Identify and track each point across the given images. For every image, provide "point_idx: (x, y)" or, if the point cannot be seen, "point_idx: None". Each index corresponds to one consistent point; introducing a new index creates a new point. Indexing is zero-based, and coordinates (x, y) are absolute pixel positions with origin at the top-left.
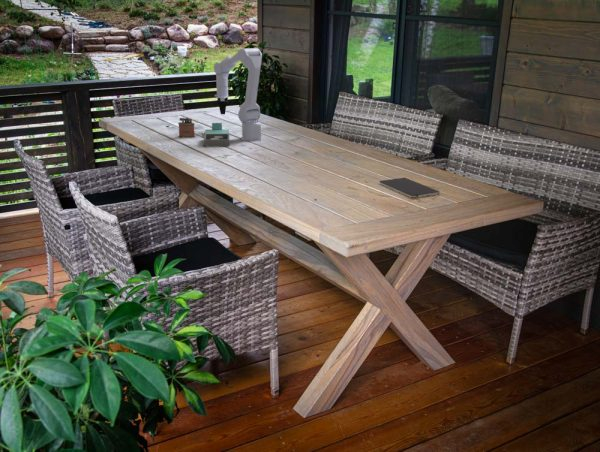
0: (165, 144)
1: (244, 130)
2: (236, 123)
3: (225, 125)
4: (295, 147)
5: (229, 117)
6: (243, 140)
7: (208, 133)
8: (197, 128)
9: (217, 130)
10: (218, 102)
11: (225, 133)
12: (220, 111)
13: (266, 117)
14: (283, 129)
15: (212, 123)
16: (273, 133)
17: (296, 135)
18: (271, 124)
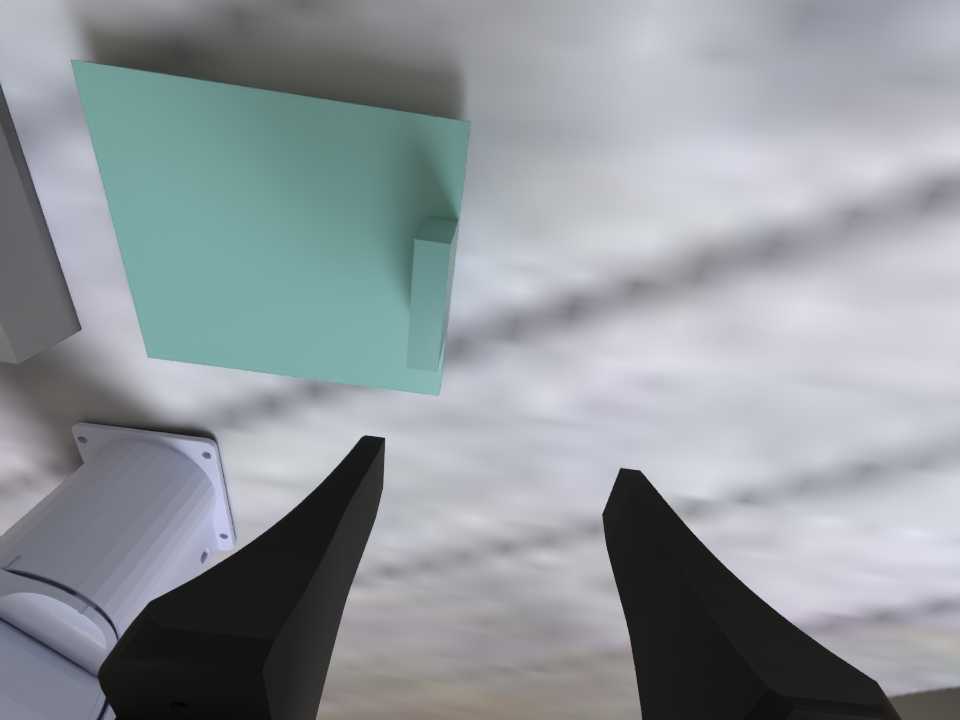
0: None
1: (31, 509)
2: (858, 495)
3: (820, 399)
4: None
5: None
6: (74, 436)
7: (197, 133)
8: (816, 27)
9: (391, 275)
10: (138, 628)
11: (225, 336)
12: (339, 467)
13: (951, 681)
14: (508, 679)
15: (414, 244)
16: (391, 624)
17: (328, 691)
18: None
